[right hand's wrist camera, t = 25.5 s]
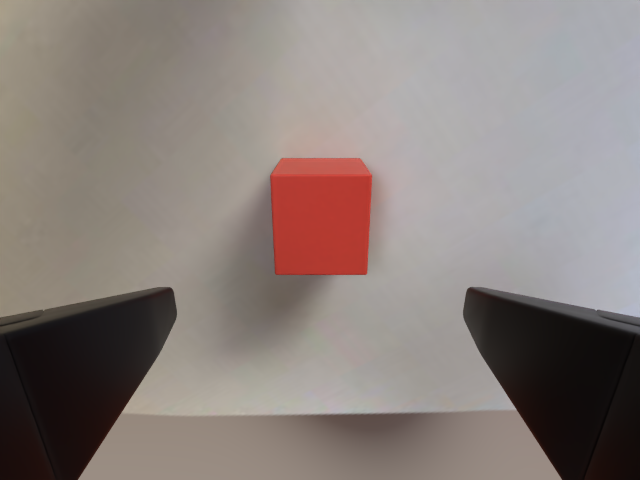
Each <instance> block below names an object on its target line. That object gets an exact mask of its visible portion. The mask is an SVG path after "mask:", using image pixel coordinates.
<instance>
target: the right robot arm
mask: <svg viewBox="0 0 640 480" xmlns="http://www.w3.org/2000/svg"><path fill="white" fill-rule="evenodd" d="M176 317H177V309H176V303H175V297H174V292H173V289H172V288H170V287H157V288H152V289H147V290H142V291H137V292H132V293H127V294H122V295H117V296H112V297H107V298H101V299H96V300H91V301H86V302H81V303H76V304H71V305H66V306H61V307H56V308H51V309H46V310H44V311H43V310H38V311H33V312H28V313H22V314H17V315H12V316H7V317H1V318H0V480H78V479H79V477H80V476H81V474H82V472H83V471H84V469H85V468H86V466H87V465H88V463H89V462H90V460H91V459H92V457H93V455H94V454H95V452H96V451H97V449H98V448H99V446H100V445H101V443H102V441H103V440H104V439H105V437H106V435H107V434H108V432H109V431H110V429H111V428H112V426H113V425H114V423H115V421H116V420H117V418H118V417H119V415H120V414H121V412H122V411H123V409H124V408H125V406H126V405H127V403H128V402H129V400H130V398H131V397H132V395H133V394H134V392H135V391H136V389H137V388H138V386H139V385H140V383H141V382H142V380H143V378H144V377H145V375H146V374H147V372H148V371H149V369H150V368H151V366H152V365H153V363H154V362H155V360H156V358H157V357H158V355H159V353H160V352H161V350H162V348H163V346H164V344H165V341H166V339H167V337H168V335H169V333H170V331H171V329H172V327H173V325H174V323H175V320H176ZM463 317H464V320H465V323H466V325H467V327H468V329H469V331H470V333H471V335H472V337H473V339H474V341H475V344H476V346H477V348H478V350H479V352H480V353H481V355H482V357H483V358H484V360H485V362H486V363H487V365H488V366H489V368H490V369H491V371H492V372H493V374H494V375H495V377H496V378H497V380H498V382H499V383H500V385H501V386H502V388H503V389H504V391H505V392H506V394H507V395H508V397H509V398H510V400H511V402H512V403H513V405H514V406H515V408H516V409H517V411H518V412H519V414H520V415H521V417H522V418H523V420H524V422H525V423H526V425H527V426H528V428H529V429H530V431H531V432H532V434H533V435H534V437H535V439H536V440H537V442H538V443H539V445H540V446H541V448H542V449H543V451H544V452H545V454H546V455H547V457H548V459H549V460H550V462H551V463H552V465H553V466H554V468H555V469H556V471H557V472H558V474H559V476H560V477H561V479H562V480H640V318H639V317H633V316H628V315H623V314H618V313H612V312H607V311H602V310H597V311H596V310H594V309H590V308H584V307H579V306H574V305H569V304H564V303H559V302H554V301H549V300H544V299H539V298H534V297H528V296H523V295H518V294H513V293H508V292H503V291H498V290H493V289H488V288H483V287H470V288H468V289H467V292H466V297H465V303H464V309H463Z"/></svg>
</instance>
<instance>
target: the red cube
mask: <svg viewBox="0 0 640 480" xmlns="http://www.w3.org/2000/svg"><path fill="white" fill-rule="evenodd" d="M270 181H271V201H272V222H273V242H274V263H275V274H276V275H366V274H367V265H368V245H369V226H370V206H371V186H372V175H371V173H370V172H369V170H368V169H367V167H366V166H365V165H364V163H363V162H362V160H361V159H360V158H282V159H281V160H280V161H279V163H278V165H277V166H276V168H275V169H274V171H273V172H272V174H271V176H270Z"/></svg>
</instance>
